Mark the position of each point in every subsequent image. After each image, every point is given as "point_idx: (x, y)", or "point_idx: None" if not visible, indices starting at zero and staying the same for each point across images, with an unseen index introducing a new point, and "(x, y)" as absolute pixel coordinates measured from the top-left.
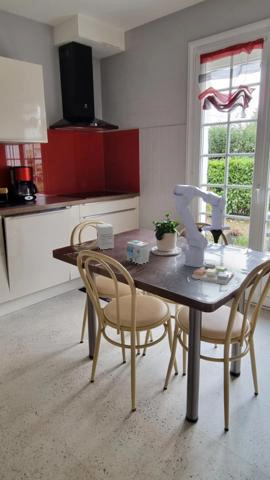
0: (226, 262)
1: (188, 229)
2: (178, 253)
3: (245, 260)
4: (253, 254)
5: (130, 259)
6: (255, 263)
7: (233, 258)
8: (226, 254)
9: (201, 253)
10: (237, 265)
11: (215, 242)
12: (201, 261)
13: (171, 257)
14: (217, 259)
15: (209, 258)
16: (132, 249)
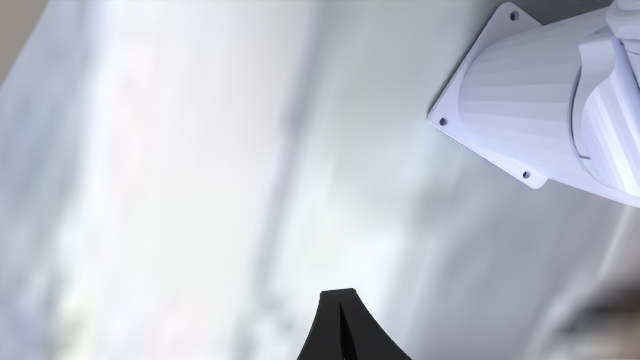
0: (250, 142)
1: None
2: (549, 348)
3: (84, 187)
4: (3, 323)
5: None
6: (4, 107)
7: (175, 237)
8: (213, 325)
9: (594, 15)
10: (171, 59)
11: (355, 294)
12: (514, 38)
13: (630, 269)
14: (307, 217)
15: (362, 241)
16: None
